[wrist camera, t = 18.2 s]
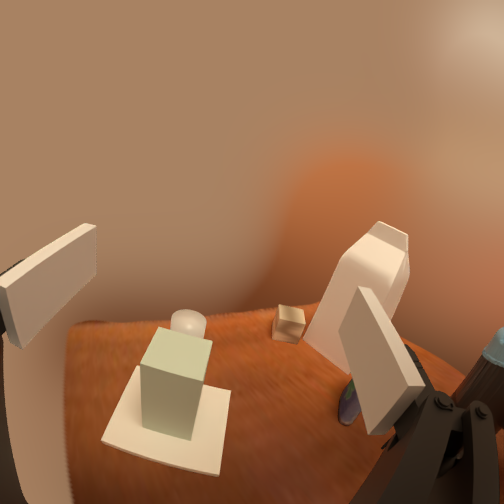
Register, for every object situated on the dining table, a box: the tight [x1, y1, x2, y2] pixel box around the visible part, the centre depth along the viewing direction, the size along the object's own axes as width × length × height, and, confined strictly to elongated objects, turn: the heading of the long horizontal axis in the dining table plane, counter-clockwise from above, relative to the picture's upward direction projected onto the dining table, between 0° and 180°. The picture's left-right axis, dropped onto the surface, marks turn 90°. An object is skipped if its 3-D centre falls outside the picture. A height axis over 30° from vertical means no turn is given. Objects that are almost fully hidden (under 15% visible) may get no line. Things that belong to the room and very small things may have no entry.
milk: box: [303, 221, 410, 375], centre depth 50 cm, size 12×12×26 cm
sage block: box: [140, 327, 213, 441], centre depth 29 cm, size 6×6×12 cm
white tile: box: [101, 366, 231, 477], centre depth 31 cm, size 14×14×1 cm
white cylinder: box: [170, 309, 206, 339], centre depth 41 cm, size 5×5×8 cm
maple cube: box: [272, 305, 306, 344], centre depth 55 cm, size 5×5×5 cm
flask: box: [338, 378, 361, 426], centre depth 38 cm, size 9×3×11 cm, turn 157°
